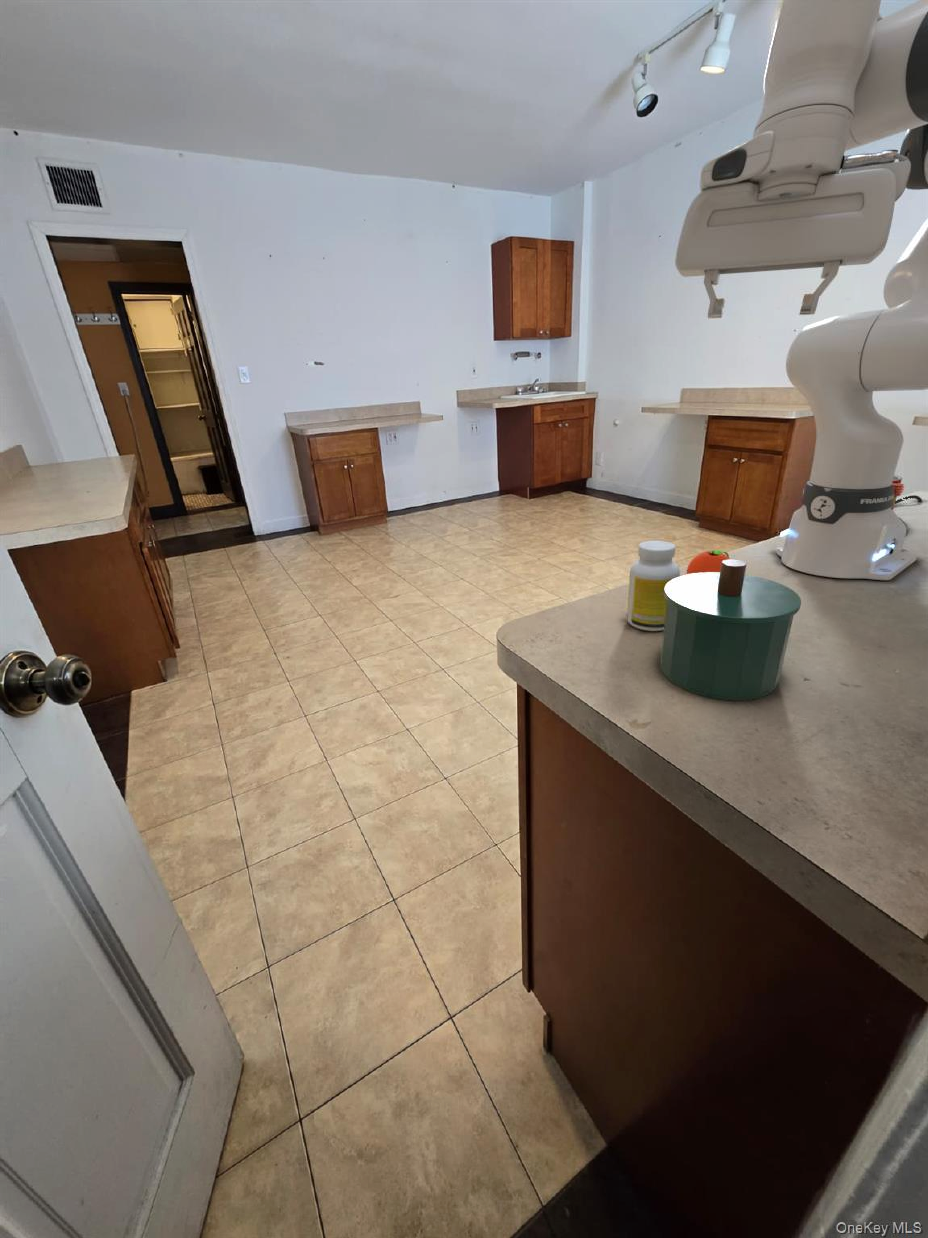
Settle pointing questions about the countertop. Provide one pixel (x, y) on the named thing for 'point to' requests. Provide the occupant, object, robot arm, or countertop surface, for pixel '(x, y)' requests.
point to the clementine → (707, 562)
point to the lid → (732, 595)
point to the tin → (723, 655)
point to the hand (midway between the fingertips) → (759, 315)
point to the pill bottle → (650, 584)
